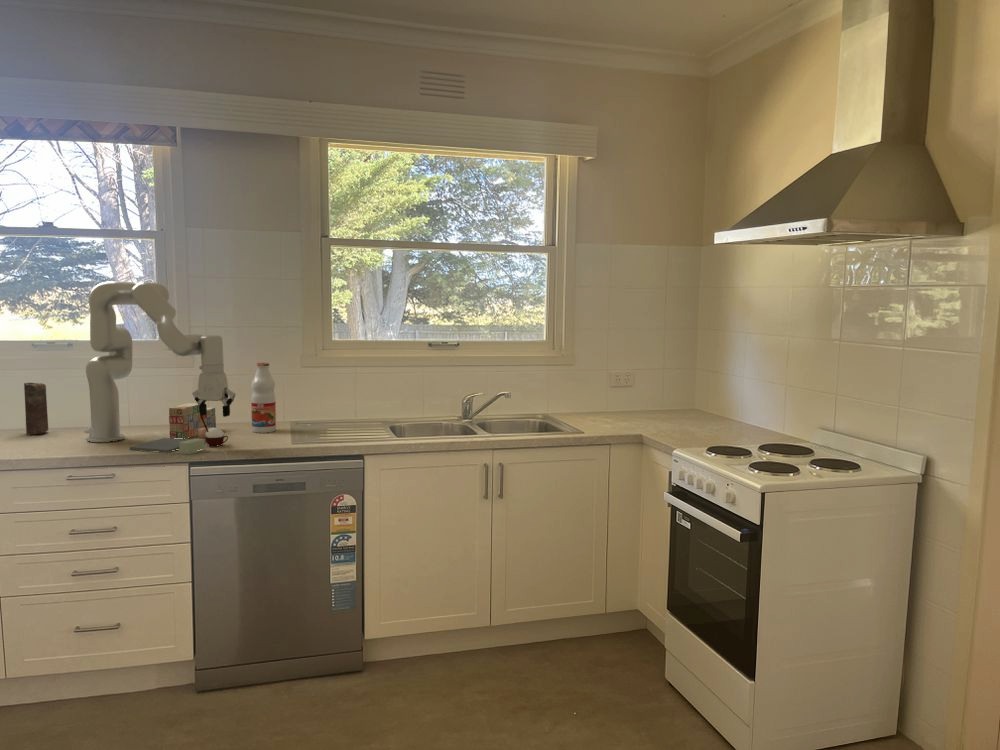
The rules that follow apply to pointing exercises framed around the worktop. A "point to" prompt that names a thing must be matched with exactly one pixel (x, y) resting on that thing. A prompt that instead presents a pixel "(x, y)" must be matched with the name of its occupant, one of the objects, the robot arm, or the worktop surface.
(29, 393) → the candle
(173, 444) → the mat
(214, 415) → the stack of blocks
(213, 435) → the cocoa
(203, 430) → the terracotta cylinder
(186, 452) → the green brick
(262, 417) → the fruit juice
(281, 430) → the worktop surface
